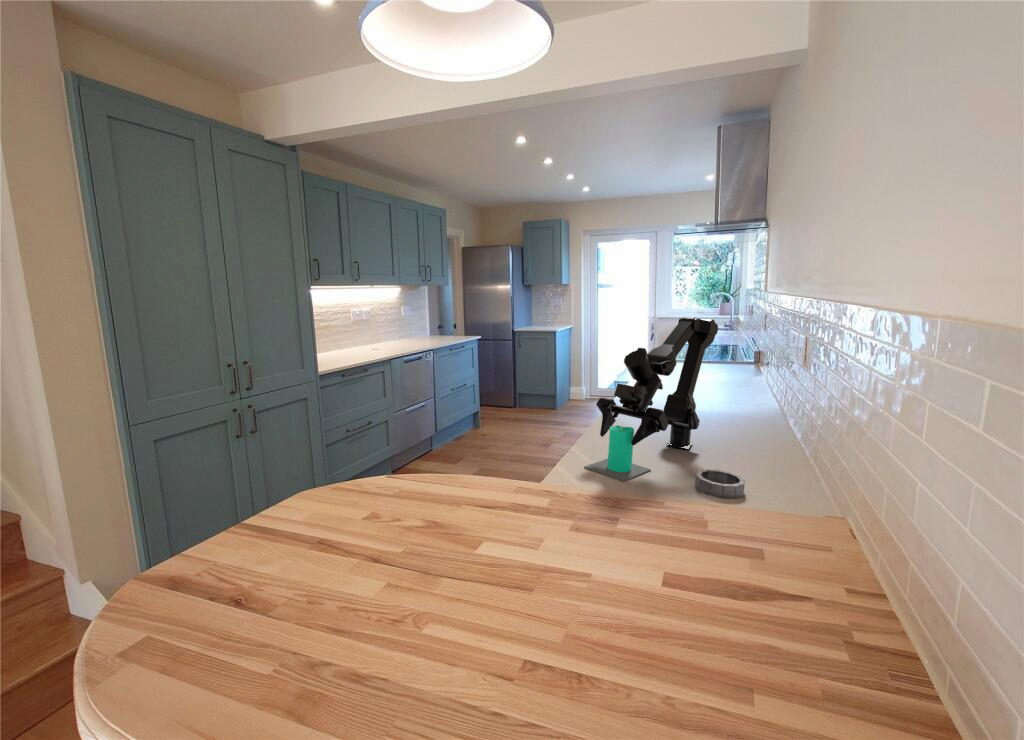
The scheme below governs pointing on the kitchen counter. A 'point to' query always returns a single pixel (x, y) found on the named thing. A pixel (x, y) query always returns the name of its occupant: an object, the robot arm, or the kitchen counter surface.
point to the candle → (620, 448)
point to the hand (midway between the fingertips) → (616, 440)
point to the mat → (603, 469)
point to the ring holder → (720, 484)
